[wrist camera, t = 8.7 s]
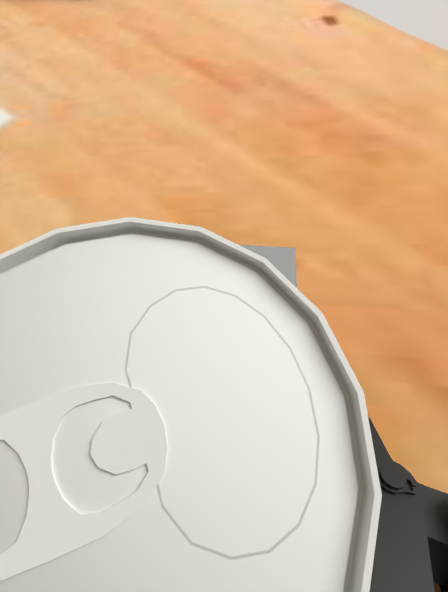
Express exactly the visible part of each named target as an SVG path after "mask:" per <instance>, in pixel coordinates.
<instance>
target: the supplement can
mask: <svg viewBox="0 0 448 592" xmlns="http://www.w3.org/2000/svg"><path fill="white" fill-rule="evenodd" d="M381 499H382V493H381V487H380V482H379V476H378V470H377V465H376V459H375V453H374V448H373V442H372V436H371V431H370V425H369V419H368V414H367V408H366V402H365V397H364V392H363V390H362V388H361V386H360V384H359V382H358V380H357V378H356V376H355V374H354V373H353V371H352V369H351V367H350V365H349V363H348V361H347V359H346V357H345V355H344V353H343V352H342V350H341V348H340V346H339V344H338V342H337V340H336V338H335V336H334V334H333V332H332V331H331V329H330V327H329V325H328V323H327V321H326V319H325V317H324V315H323V313H322V312H321V311H320V310H319V309H318V308H317V307H316V306H315V305H314V304H313V303H312V302H311V301H309V300H308V299H307V298H306V297H305V296H304V295H303V294H302V293H301V292H300V291H299V290H298V289H297V288H296V287H295V286H294V285H293V284H292V283H291V282H290V281H289V280H288V279H287V278H286V277H285V276H284V275H283V274H282V273H281V272H280V271H279V270H278V269H277V268H276V267H275V266H273V265H272V264H271V263H270V262H269V261H268V260H267V259H266V258H264V257H262V256H260V255H258V254H256V253H254V252H252V251H250V250H248V249H246V248H244V247H242V246H240V245H237V244H235V243H233V242H231V241H229V240H227V239H225V238H223V237H221V236H219V235H217V234H215V233H213V232H211V231H209V230H206V229H204V228H202V227H199V226H192V225H184V224H177V223H170V222H163V221H155V220H148V219H141V218H134V217H127V218H121V219H114V220H108V221H102V222H95V223H89V224H83V225H77V226H70V227H64V228H58V229H55V230H52V231H50V232H48V233H46V234H44V235H42V236H39V237H37V238H35V239H33V240H31V241H29V242H26V243H24V244H22V245H20V246H18V247H16V248H13V249H11V250H9V251H7V252H5V253H3V254H0V592H370V584H371V576H372V568H373V561H374V553H375V545H376V537H377V530H378V522H379V514H380V506H381Z"/></svg>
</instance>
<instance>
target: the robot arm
mask: <svg viewBox="0 0 448 592" xmlns="http://www.w3.org/2000/svg"><path fill="white" fill-rule="evenodd" d="M368 419H369V425H370V431H371V436H372V442H373V448H374V453H375V459H376V465H377V470H378V476H379V482H380V487H381V493H382V499H381V506H380V514H379V522H378V530H377V537H376V545H375V553H374V561H373V568H372V576H371V584H370V592H448V494H447V493H444V492H441V491H438V490H435V489H432V488H429V487H427V486H424V485H422V484H420V483H418V482H417V481H416V480H415V479H414V477H413V476H412V475H411V473H410V472H408V471H407V470H406V469H405V468H404V467H403V466H401V465H400V464H398V463H396V462H394V461H393V460H392V459H391V457H390V455H389V454H388V452H387V450H386V448H385V446H384V444H383V442H382V440H381V438H380V437H379V435H378V433H377V431H376V429H375V427H374V425H373V423H372V421H371V420H370V418H368Z"/></svg>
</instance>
